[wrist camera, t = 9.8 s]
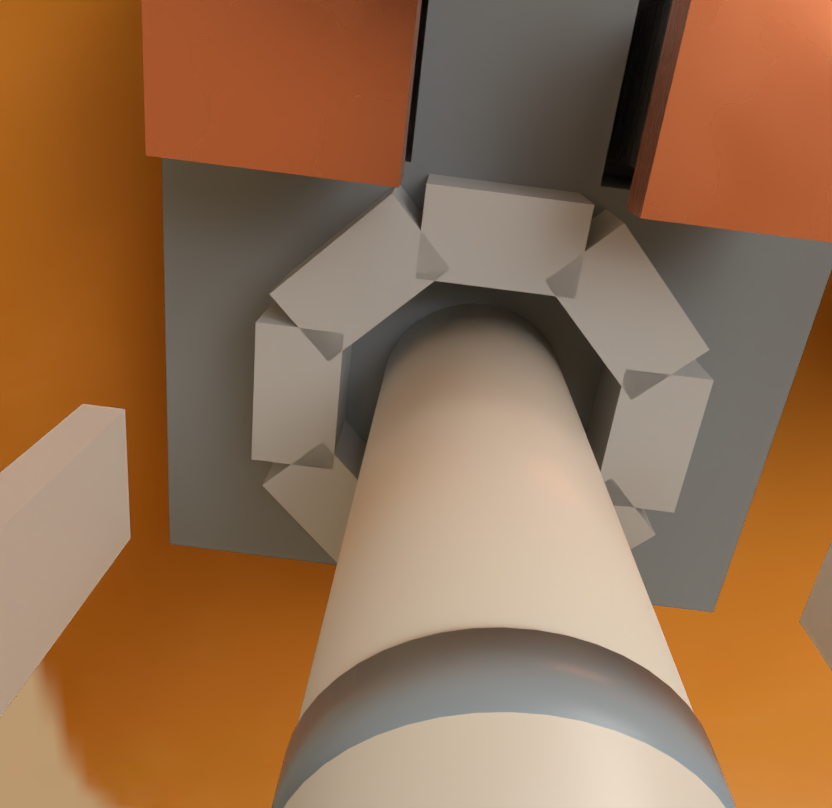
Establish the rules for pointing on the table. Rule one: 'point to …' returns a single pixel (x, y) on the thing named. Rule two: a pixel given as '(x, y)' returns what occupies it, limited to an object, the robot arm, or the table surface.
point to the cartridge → (489, 605)
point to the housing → (478, 302)
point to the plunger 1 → (282, 84)
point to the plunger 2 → (731, 116)
